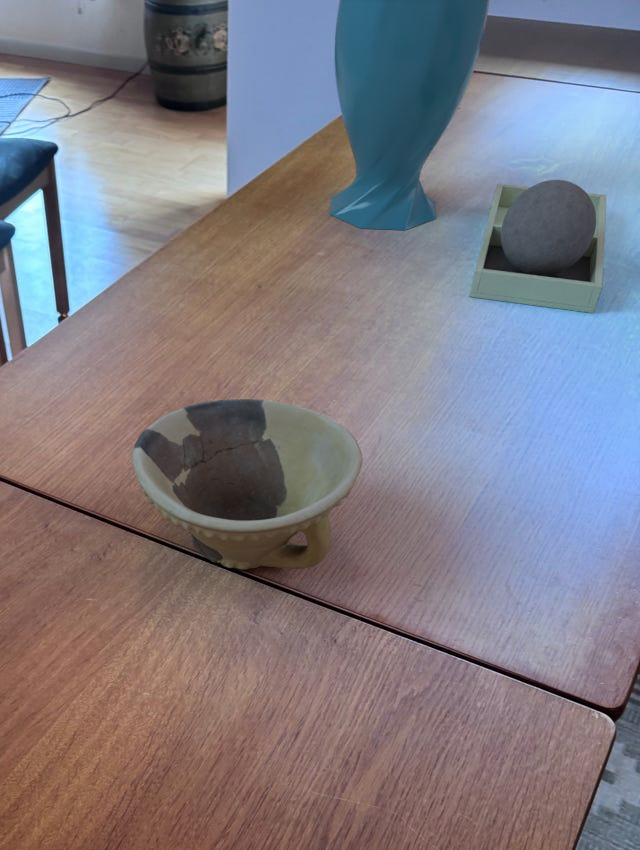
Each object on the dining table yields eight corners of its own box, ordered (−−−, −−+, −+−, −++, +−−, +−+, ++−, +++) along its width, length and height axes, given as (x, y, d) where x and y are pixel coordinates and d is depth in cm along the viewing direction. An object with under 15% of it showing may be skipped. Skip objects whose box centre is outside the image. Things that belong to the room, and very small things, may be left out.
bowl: (390, 540, 76) (411, 445, 69) (247, 653, 68) (254, 558, 61) (235, 454, 85) (240, 362, 78) (91, 545, 77) (82, 451, 70)
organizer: (598, 219, 118) (606, 194, 116) (593, 313, 102) (602, 286, 99) (491, 207, 122) (497, 183, 119) (468, 296, 105) (475, 270, 103)
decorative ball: (475, 261, 109) (495, 173, 102) (545, 247, 111) (570, 160, 104) (524, 297, 103) (549, 207, 95) (598, 282, 105) (628, 192, 98)
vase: (314, 231, 118) (342, -55, 96) (321, 180, 129) (348, -86, 108) (450, 238, 116) (511, -54, 94) (445, 185, 127) (499, -86, 105)
